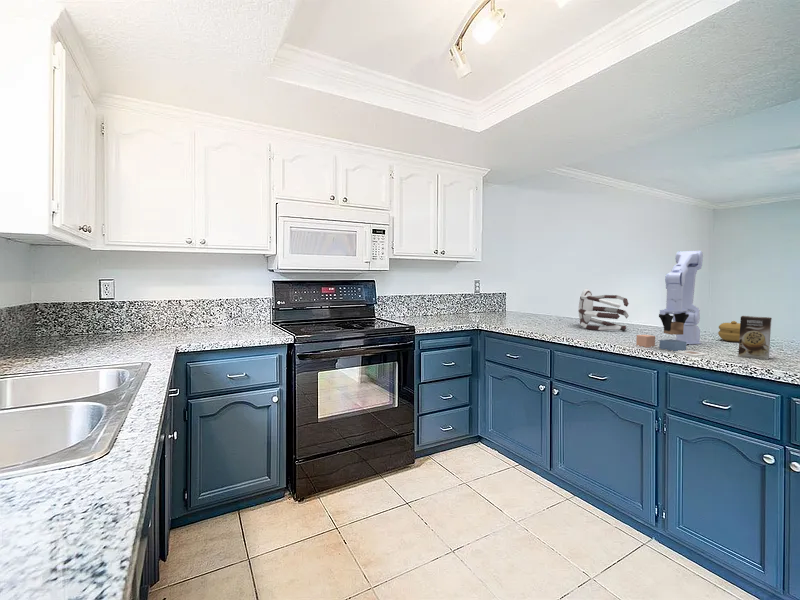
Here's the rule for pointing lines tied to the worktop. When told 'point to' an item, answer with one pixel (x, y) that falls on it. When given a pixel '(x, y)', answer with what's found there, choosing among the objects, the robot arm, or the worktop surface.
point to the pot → (730, 331)
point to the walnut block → (676, 328)
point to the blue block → (672, 344)
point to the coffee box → (754, 337)
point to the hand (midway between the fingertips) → (673, 330)
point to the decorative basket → (588, 308)
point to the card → (692, 353)
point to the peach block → (645, 340)
